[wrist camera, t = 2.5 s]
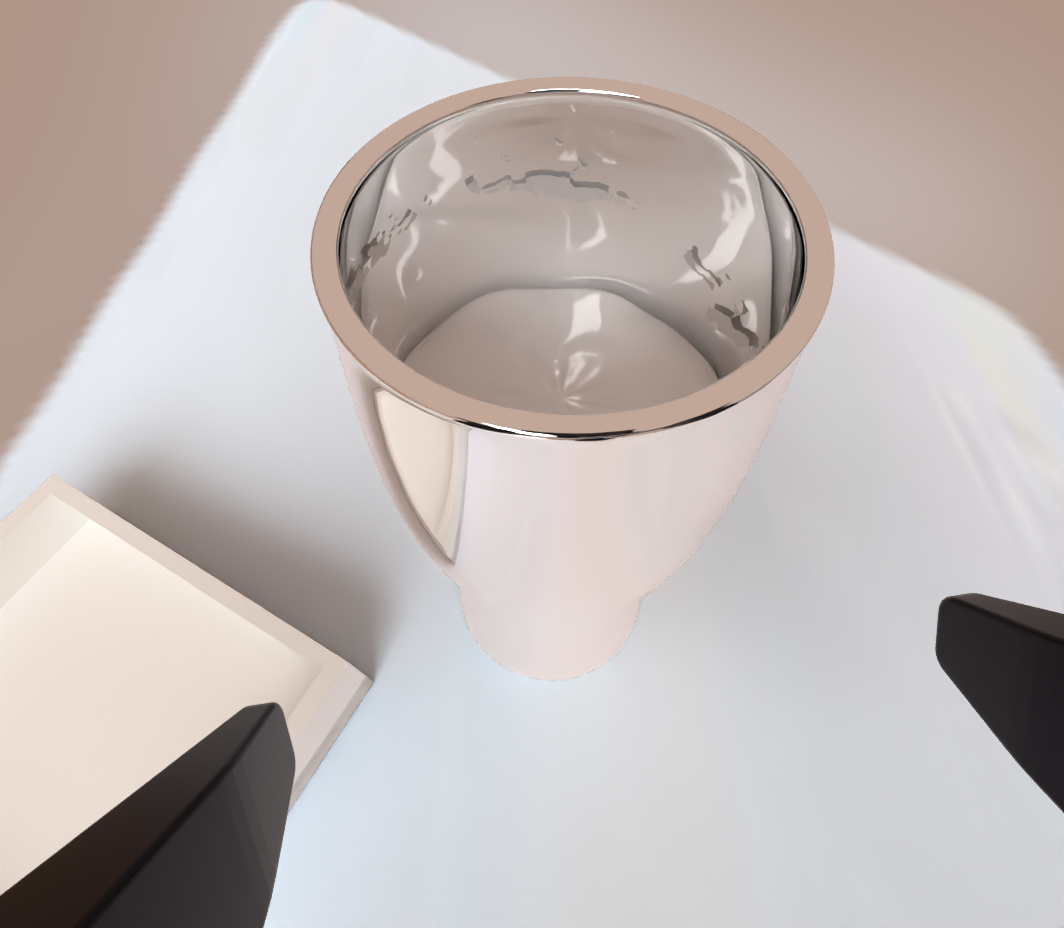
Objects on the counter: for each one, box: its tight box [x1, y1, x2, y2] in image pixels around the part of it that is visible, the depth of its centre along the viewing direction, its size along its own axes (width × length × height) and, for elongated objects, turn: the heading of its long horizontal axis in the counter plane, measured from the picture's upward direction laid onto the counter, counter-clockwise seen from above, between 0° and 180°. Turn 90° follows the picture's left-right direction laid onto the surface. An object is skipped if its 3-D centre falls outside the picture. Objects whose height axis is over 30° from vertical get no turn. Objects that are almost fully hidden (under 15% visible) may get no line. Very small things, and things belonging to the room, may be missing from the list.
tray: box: [0, 475, 374, 895], centre depth 17 cm, size 12×12×3 cm
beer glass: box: [310, 77, 834, 681], centre depth 14 cm, size 7×7×15 cm
